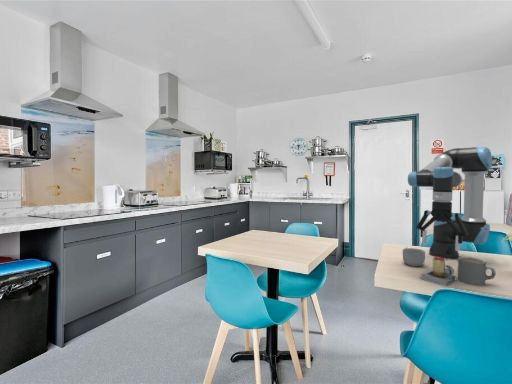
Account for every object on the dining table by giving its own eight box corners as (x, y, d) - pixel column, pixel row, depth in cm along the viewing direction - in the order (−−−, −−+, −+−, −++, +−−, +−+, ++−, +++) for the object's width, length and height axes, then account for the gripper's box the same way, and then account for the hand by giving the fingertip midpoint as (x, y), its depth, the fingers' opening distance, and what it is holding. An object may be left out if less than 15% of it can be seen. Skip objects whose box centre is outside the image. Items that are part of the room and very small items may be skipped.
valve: (433, 275, 134) (434, 254, 133) (448, 279, 129) (449, 257, 128) (428, 278, 130) (429, 256, 130) (443, 282, 125) (444, 260, 125)
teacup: (428, 268, 146) (428, 253, 146) (405, 267, 148) (406, 252, 148) (418, 260, 160) (418, 247, 160) (397, 259, 162) (398, 245, 162)
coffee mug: (455, 281, 128) (456, 259, 128) (459, 276, 136) (460, 255, 135) (494, 289, 119) (495, 266, 119) (495, 283, 127) (496, 261, 126)
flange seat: (435, 272, 141) (436, 262, 141) (461, 278, 132) (462, 268, 132) (420, 278, 131) (420, 268, 131) (446, 286, 122) (447, 275, 122)
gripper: (409, 199, 136) (408, 243, 137) (472, 204, 116) (469, 254, 117) (417, 198, 140) (415, 240, 141) (478, 202, 120) (476, 251, 121)
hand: (440, 247), depth 129 cm, fingers open, 13 cm apart
